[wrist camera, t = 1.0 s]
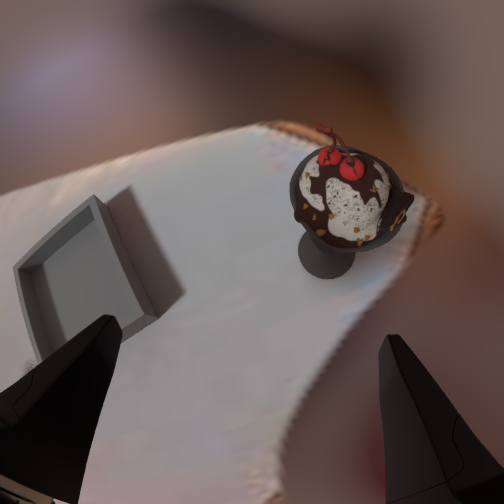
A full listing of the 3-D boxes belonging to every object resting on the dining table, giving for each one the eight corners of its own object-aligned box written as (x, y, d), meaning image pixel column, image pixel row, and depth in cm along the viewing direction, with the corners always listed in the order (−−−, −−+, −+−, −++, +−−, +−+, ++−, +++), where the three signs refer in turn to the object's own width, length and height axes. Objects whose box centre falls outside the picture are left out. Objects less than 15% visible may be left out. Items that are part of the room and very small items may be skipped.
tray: (159, 318, 24) (144, 314, 21) (63, 380, 23) (44, 381, 20) (108, 207, 28) (93, 194, 26) (29, 273, 27) (12, 266, 24)
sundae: (276, 230, 26) (263, 101, 11) (344, 206, 26) (388, 77, 11) (303, 301, 23) (333, 233, 9) (375, 272, 23) (468, 182, 9)
